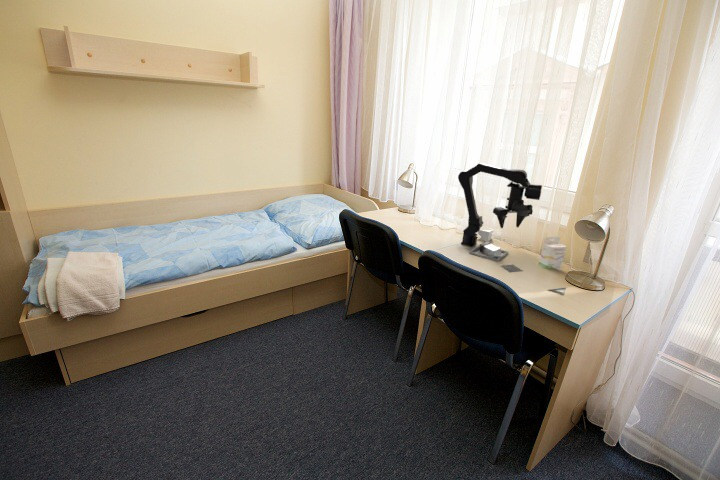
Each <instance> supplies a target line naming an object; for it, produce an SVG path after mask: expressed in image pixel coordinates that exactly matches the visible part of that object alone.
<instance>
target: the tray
mask: <svg viewBox="0 0 720 480" xmlns="http://www.w3.org/2000/svg"><path fill="white" fill-rule="evenodd" d="M502 253H503V254H502ZM468 254H470V255H473V256H477V257H481V258H484V259H487V260H490V261H494V262H497V263H498V262H500V261H501V260H502V259H503V258H505V256H507V255H508V254H509V251H508V250H503V249H501V257H497V258H492V257H490V256H488V255H486V254H483V253H482V254H481V252H480V244H478V245H476V246H474V248H472V249H471V250H470V251H469V252H468Z"/></svg>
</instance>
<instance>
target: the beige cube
mask: <svg viewBox="0 0 720 480" xmlns="http://www.w3.org/2000/svg"><path fill="white" fill-rule="evenodd" d="M491 229H492V228H491ZM493 232H494V229H492V230H479V231H478V232H477V235H478V234H479V235H480V236H481V238H480V240H479V241H481V242H484V243H486V242H490V241H491V240H492V237H493Z"/></svg>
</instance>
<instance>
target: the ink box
mask: <svg viewBox="0 0 720 480" xmlns="http://www.w3.org/2000/svg"><path fill="white" fill-rule="evenodd" d="M560 239H561V237H560V236H546V237H545V238H544V243H543V245H542V248H541V252H540V253H541V254H540V257H539V261H538V266H540V267H542V268H544V269H546V270H547V269H556V270H557V271H561V269H562V265H563V262H564V258H565V254H566V251H567V249H568V248H567V247H568V246H567V245H564V244H562V243H560Z"/></svg>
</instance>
